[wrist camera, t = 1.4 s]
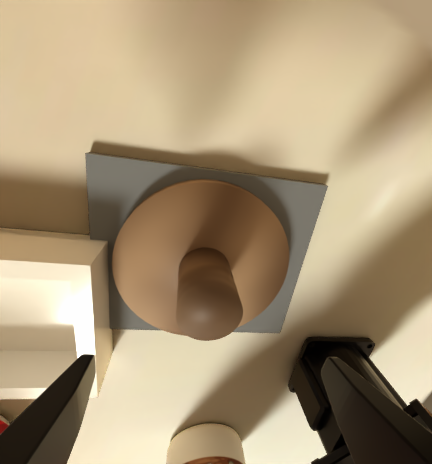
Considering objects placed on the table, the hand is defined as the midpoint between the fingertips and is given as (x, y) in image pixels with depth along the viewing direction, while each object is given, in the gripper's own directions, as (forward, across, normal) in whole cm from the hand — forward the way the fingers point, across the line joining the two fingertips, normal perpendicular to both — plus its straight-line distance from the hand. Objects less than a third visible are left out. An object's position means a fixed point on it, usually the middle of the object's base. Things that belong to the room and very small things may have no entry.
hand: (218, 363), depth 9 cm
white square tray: (+8, +11, +4) cm, 14 cm away
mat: (+8, 0, 0) cm, 8 cm away
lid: (+8, 0, 0) cm, 8 cm away
